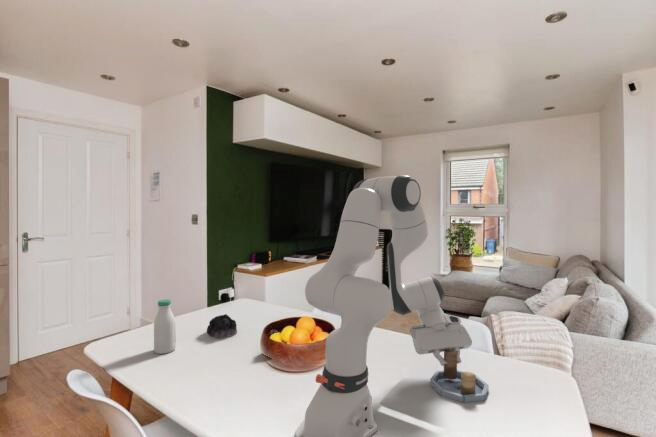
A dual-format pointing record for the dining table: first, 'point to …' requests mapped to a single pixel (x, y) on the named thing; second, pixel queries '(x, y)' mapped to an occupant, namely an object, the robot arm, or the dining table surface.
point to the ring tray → (458, 387)
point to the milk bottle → (164, 329)
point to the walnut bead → (450, 364)
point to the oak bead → (468, 383)
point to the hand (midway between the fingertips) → (451, 363)
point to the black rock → (222, 327)
